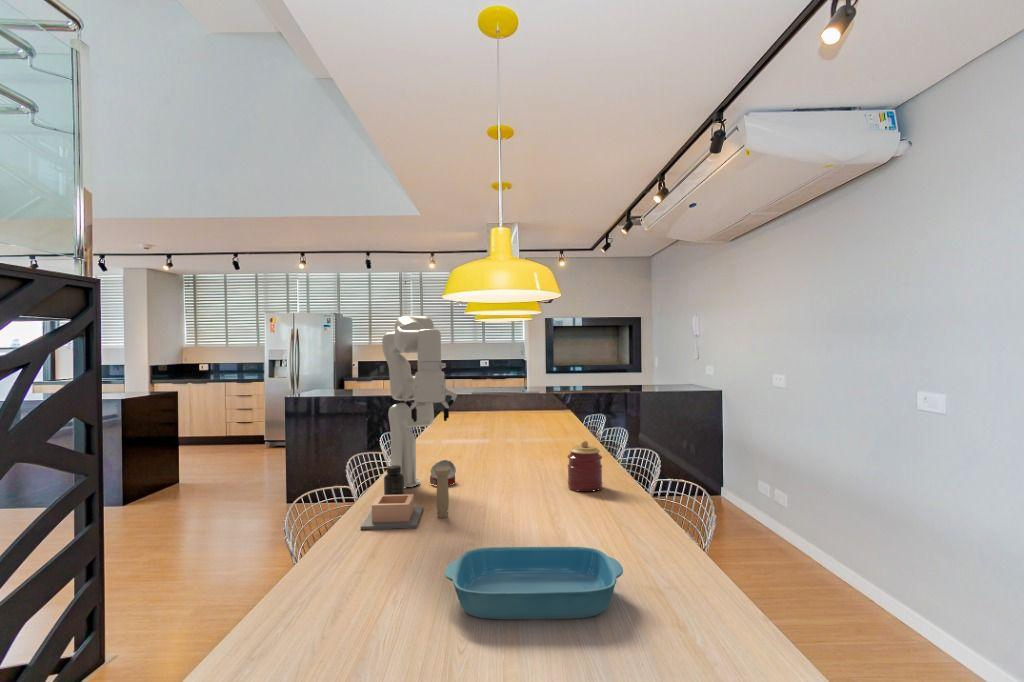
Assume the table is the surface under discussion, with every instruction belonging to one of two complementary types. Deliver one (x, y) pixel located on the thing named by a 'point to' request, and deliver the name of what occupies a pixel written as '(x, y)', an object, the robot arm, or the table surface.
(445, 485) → the handle
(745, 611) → the table surface
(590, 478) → the canister
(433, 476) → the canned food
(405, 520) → the socket
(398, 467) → the supplement bottle
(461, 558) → the casserole dish
